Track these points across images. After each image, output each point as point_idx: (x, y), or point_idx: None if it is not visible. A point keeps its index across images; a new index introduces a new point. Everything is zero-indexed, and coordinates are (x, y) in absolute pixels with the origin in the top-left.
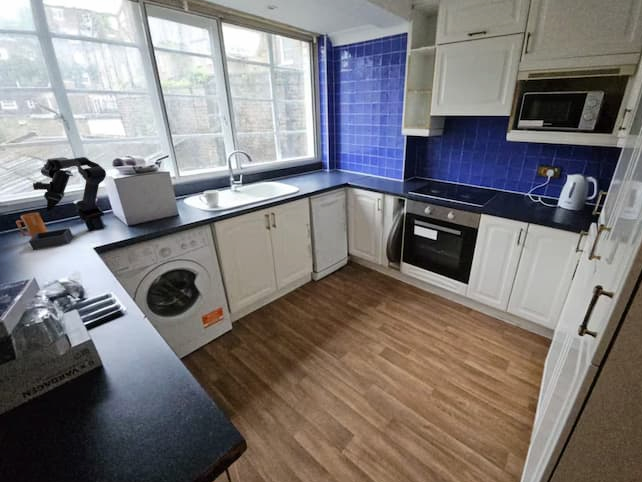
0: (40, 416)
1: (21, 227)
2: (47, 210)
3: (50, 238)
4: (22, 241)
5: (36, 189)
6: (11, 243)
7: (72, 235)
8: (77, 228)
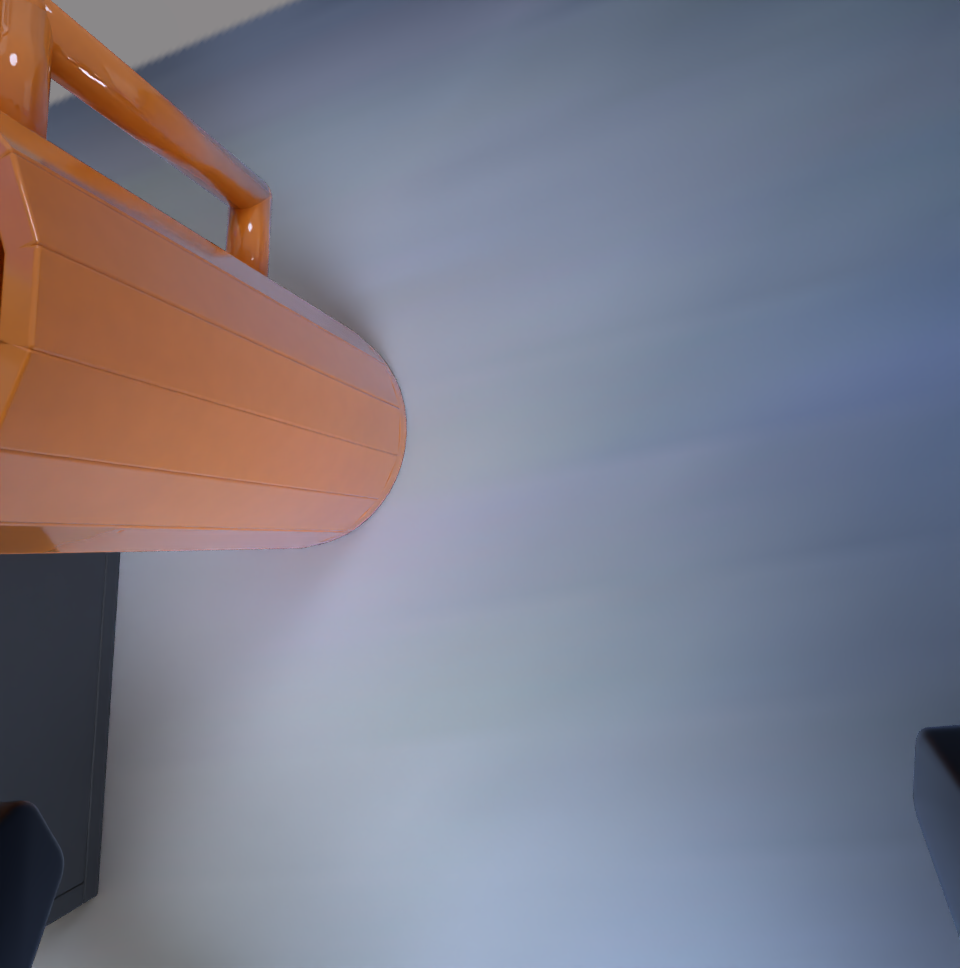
0: None
1: (132, 134)
2: (1, 816)
3: None
4: (357, 166)
5: None
6: (356, 32)
7: (76, 902)
8: (607, 951)
